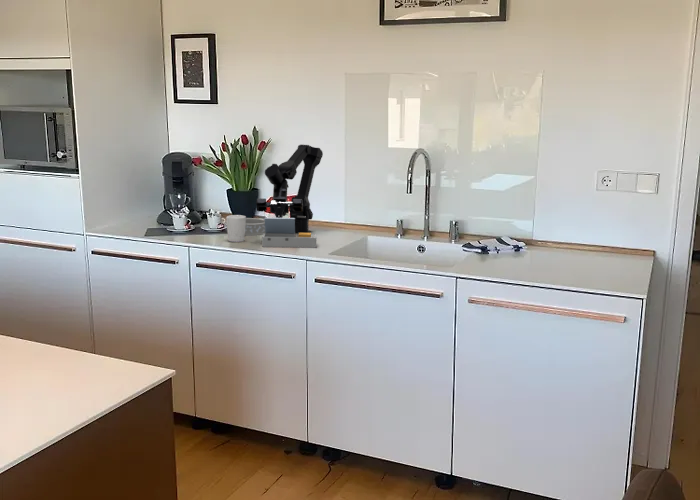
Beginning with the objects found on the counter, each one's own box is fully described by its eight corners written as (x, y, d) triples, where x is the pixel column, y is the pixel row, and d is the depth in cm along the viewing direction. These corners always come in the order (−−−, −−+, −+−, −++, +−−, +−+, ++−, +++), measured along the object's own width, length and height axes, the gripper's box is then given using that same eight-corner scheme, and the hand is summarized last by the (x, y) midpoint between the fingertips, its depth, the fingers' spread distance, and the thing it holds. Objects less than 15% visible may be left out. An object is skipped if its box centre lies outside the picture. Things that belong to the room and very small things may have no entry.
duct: (263, 243, 295) (263, 233, 294) (316, 243, 296) (316, 234, 295) (262, 247, 287) (262, 237, 286) (316, 247, 288) (316, 237, 287)
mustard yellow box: (299, 240, 302) (299, 232, 301) (311, 241, 302) (311, 232, 301) (298, 242, 298) (298, 234, 297) (310, 242, 298) (310, 234, 297)
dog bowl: (259, 227, 330) (258, 216, 329) (275, 234, 315) (275, 222, 314) (223, 230, 322) (223, 218, 321) (239, 237, 307) (238, 225, 305)
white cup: (247, 239, 303) (247, 215, 301) (243, 242, 295) (243, 218, 293) (229, 238, 303) (229, 214, 301) (224, 241, 296) (224, 217, 294)
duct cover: (265, 233, 293) (265, 232, 294) (295, 234, 294) (295, 233, 294) (264, 218, 286) (264, 217, 287) (294, 219, 287) (294, 217, 287)
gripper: (303, 202, 305) (302, 233, 296) (258, 202, 304) (256, 233, 295) (302, 186, 295) (302, 218, 287) (257, 186, 294) (254, 217, 286)
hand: (278, 222), depth 289 cm, fingers closed
